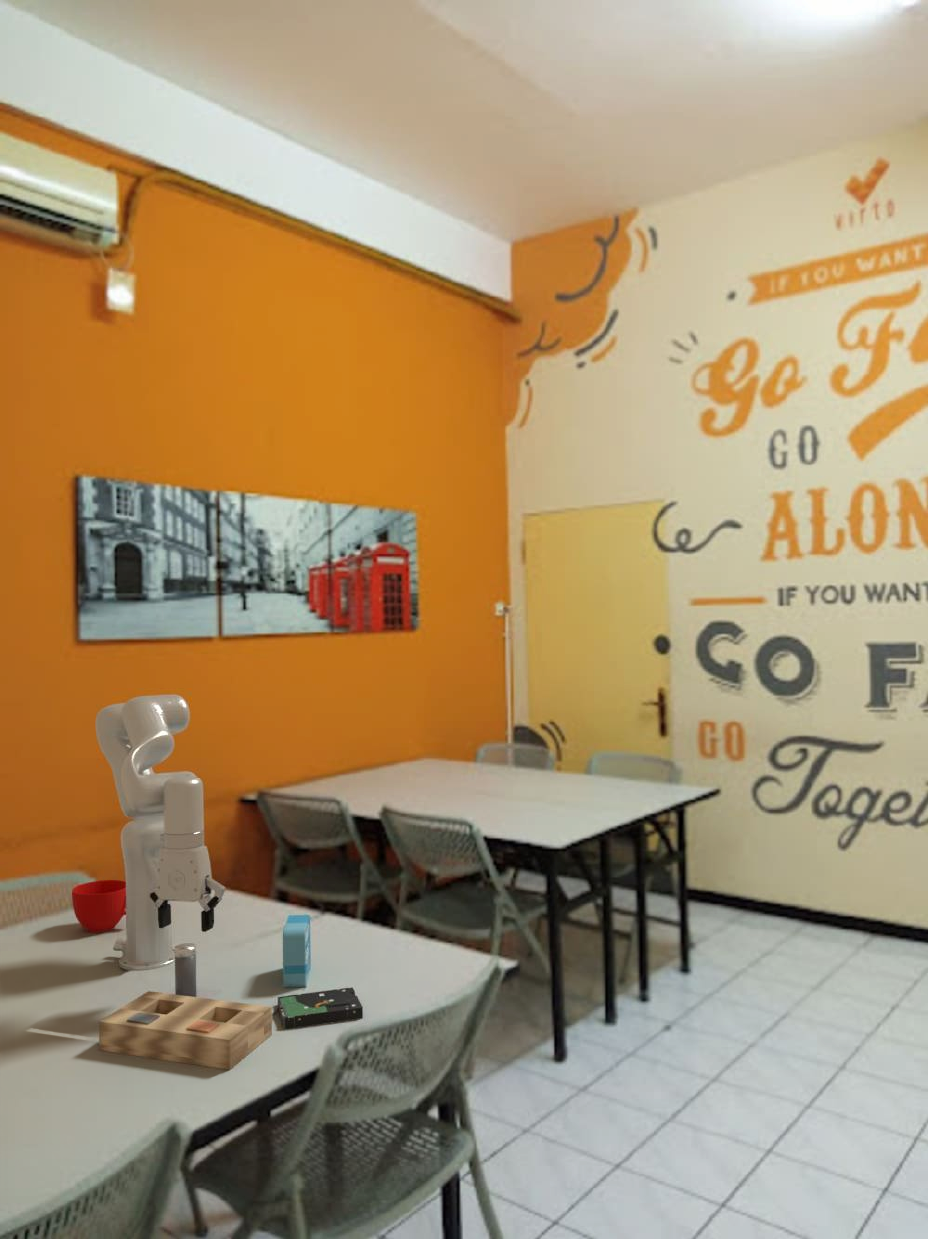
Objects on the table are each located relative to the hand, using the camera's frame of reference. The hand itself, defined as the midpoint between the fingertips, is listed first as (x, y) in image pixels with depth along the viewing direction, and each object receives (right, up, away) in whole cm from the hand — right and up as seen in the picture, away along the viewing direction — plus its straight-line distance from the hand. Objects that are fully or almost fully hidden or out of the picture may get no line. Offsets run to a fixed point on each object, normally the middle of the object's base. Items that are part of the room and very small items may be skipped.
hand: (186, 928), depth 188 cm
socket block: (+5, -14, -18) cm, 24 cm away
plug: (0, -14, +1) cm, 14 cm away
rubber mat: (0, -14, +1) cm, 14 cm away
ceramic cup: (-32, -15, +45) cm, 58 cm away
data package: (+20, -14, +11) cm, 27 cm away
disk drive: (+27, -15, -6) cm, 32 cm away
